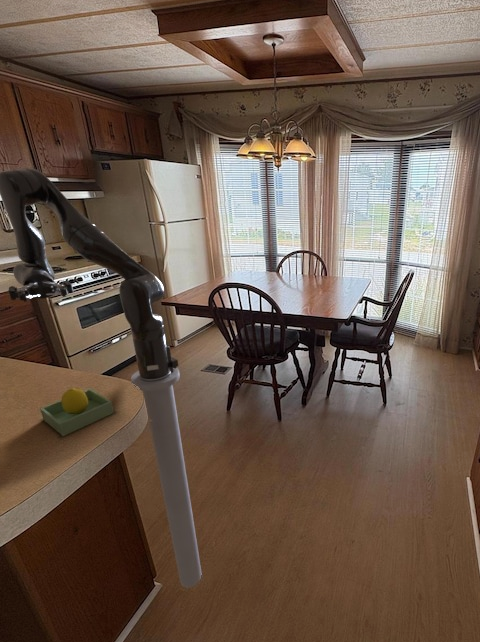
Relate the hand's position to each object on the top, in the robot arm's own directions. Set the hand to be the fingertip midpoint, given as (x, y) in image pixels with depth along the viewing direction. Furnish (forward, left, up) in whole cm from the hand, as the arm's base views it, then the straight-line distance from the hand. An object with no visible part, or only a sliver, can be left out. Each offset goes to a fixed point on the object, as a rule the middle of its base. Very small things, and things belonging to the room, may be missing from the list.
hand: (44, 295), depth 94 cm
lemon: (+6, +18, -28) cm, 34 cm away
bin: (+6, +19, -29) cm, 35 cm away
